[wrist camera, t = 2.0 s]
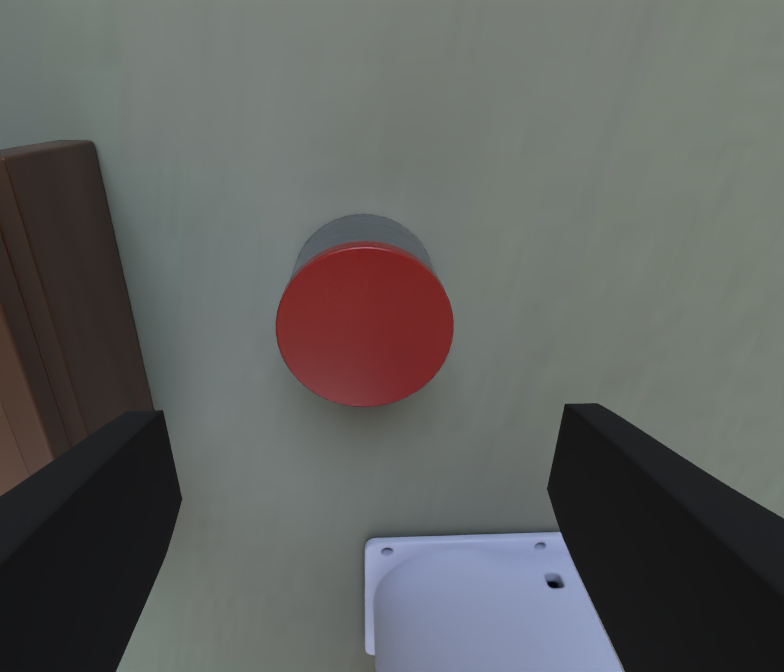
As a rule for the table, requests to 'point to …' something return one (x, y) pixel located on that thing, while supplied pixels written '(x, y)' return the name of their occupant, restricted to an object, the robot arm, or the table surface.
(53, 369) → the rack
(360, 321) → the spice tin
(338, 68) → the table surface
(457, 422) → the table surface
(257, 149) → the table surface
